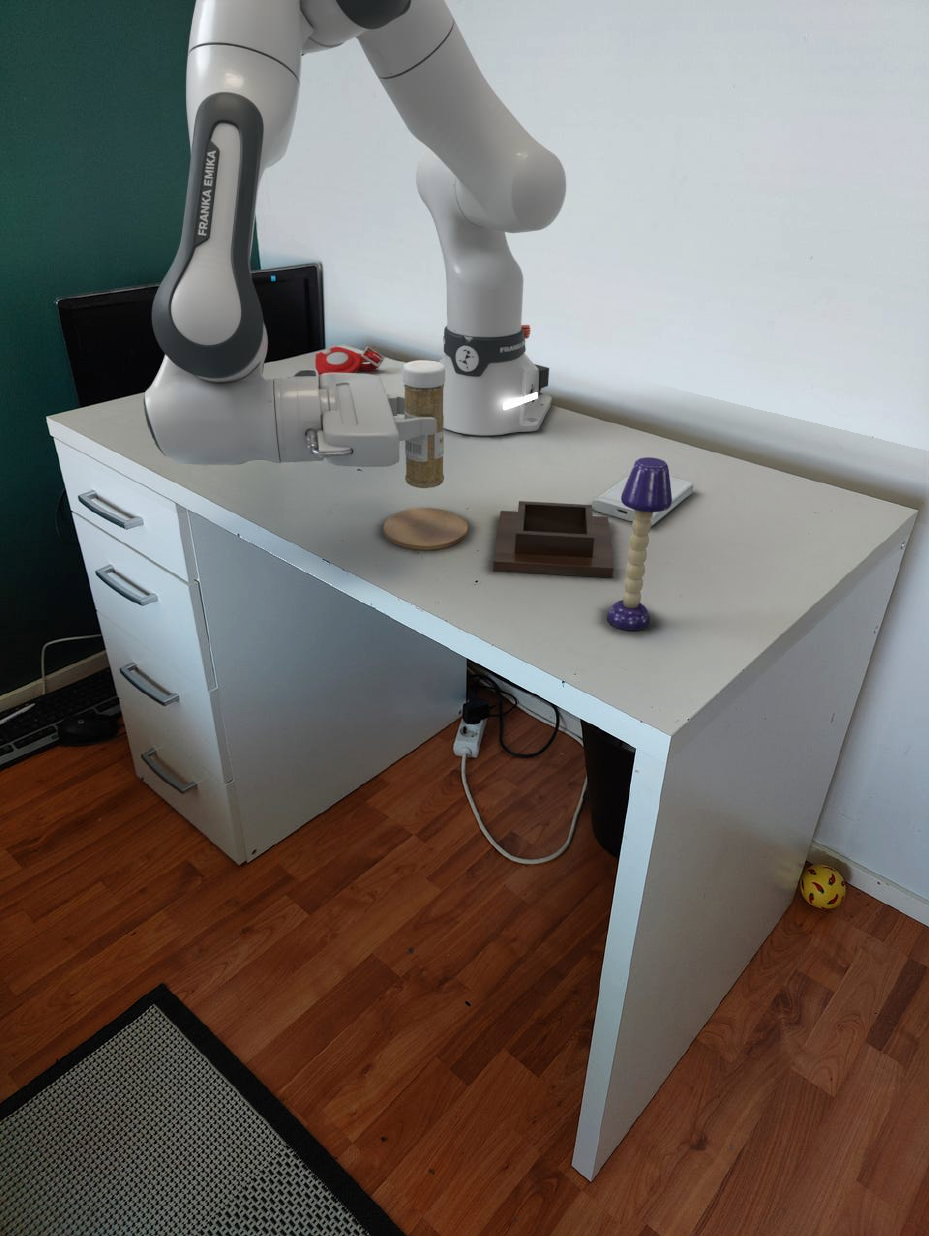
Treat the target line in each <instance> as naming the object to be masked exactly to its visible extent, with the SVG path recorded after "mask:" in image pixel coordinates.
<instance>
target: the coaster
mask: <svg viewBox="0 0 929 1236" xmlns="http://www.w3.org/2000/svg"><path fill="white" fill-rule="evenodd" d="M468 533H469V525H468V523H467V521H466V519H464V517H462V516H460V515H459V514H457V513H455V512H452V511H450V510H446V509H440V508H431V507H429V508H427V507H425V508H424V507H423V508H421V507H420V508H413V509H412V508H411V509H407V510H403V511H400V512H397V513H395V514H393V515H391V516H390V517H389V518H387V519H386V521H385V522H384V524H383V534H384V536H385V538H386V539H387V540H388V541H389V542H390V543H392V544H394V545H397V546H399V547H401V548H402V547H403V548H405V549H411V550H418V551H433V550H441V549H446V548H450V547H452V546H455V545H458V544H459V543H461V542H462V541H463V540H465V538H466V537H467V535H468Z"/></svg>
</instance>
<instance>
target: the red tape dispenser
mask: <svg viewBox="0 0 929 1236" xmlns="http://www.w3.org/2000/svg"><path fill="white" fill-rule="evenodd" d="M385 358H386V357H385V356H384V355H382V354H381V353H379V352H378V351H376V350H374V349H373V348H372V347H370V346H368V345H367V346H366V347H365V349H364V350H363V351H362V352H361V353H359V352H356V351H353V350H351V349H348V348H344V347H342V346H333V347H330V348H326V349H324V350H323V351H320V352H318V353H316V354H315V361H314V364H315V369H316V370H317V371H318V376H320V375H321V374H324V373H357V372H358V371H360V372H371V371H372V372H373V371H376V370H377V369H378V368H380V367H381V365H382V364H383V362H384V361H385Z"/></svg>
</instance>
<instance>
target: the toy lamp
mask: <svg viewBox="0 0 929 1236" xmlns="http://www.w3.org/2000/svg"><path fill="white" fill-rule="evenodd" d="M628 476H629V477H628ZM628 476H627V477H628V480H627V482H626V485H625V487H624V490H623V492H622V496H621V501H622V503H623V504H624V505H625V506H627V507H628V508H631V509H633V510H634V516H635V519H634V521H633V522H632V525H631V530H632V534H631V536H630V539H629V545H630V548H629V549H628V553H627V560H628V563H627V565H626V569H625V573H626V578H625V580H624V592H623V595H622V600H621V599H620V600H618V601H616V602H615V603H613V604H612V606H611V607H610V608H609V610H608V612H607V615H606V619H607V621H608V623H609V624H610V625H611V626H613V627H615V628H617V629H621V630H624V631H639V630H643V629H645V628H647V627H648V626H649V625H650V622H651V618H650V613H649V610H648V608H647V607H646V606H645V604H643V603H641V600H642V594H641V591H642V589H643V586H644V580H643V577H644V575H645V572H646V566H645V562H646V560H647V557H648V552H647V548H648V546H649V543H650V537H649V534H650V532H651V530H652V526H651V521H650V519H651V518H652V516H653V512H660V511H664V510H667V509H668V508H669V507H670V506H671V503H672V494H671V485H670V477H671V476H670V469H669V465H668V463H667V462H666V461H665V460H663V459H660V458H658V457H649V456H648V457H647V456H646V457H640V458H638V459H636V460H635V462H634V464H633V465H632V467H631V471H630V473H629V474H628Z"/></svg>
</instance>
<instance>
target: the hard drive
mask: <svg viewBox="0 0 929 1236" xmlns="http://www.w3.org/2000/svg"><path fill="white" fill-rule="evenodd" d="M628 477H629V475H628V476H626V477H625V478H623V479H621V480H620V481H619V482H617V483H616V484H614V485H613V486H612V487H610V488H609V489H607V490H606V491H605V492H603V493H602V494H600V495H599V496H597V497H596V498H595V499H593V500H592V510H593V511H595V512H599V513H601V514H605V515H608V516H611V517H615V518H619V519H622V520H624V521H625V520H626V521H628V522H631V523H633V521H634V519H635V516H634V510H633V509H631V508H628V507H627V506H625V505H624V504H623V503H622V501H621V496H622V492H623V490H624V487H625V485H626V482H627V480H628ZM670 485H671V494H672V503H671V506H670V507H669V508H668V509H667V510H664V511H660V512H653V516H652V518H651V519H650V521H651V527H653V525H655V524H656V523H657V522H658V521H660V520H661V519H662V518H663V517H664V516H666V515H667V514H668V513H669V512H670V511H672V510H673V509H674V508H675V507H677V506H678V505H679V504H680V503H681V502H683V501H684V500H685V499H686V498H688V497H689V496H690V495H691V494H693V491H694V483H693V482H691V481H687V480H683V479H680V478H675V477H672V476H670Z"/></svg>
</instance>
